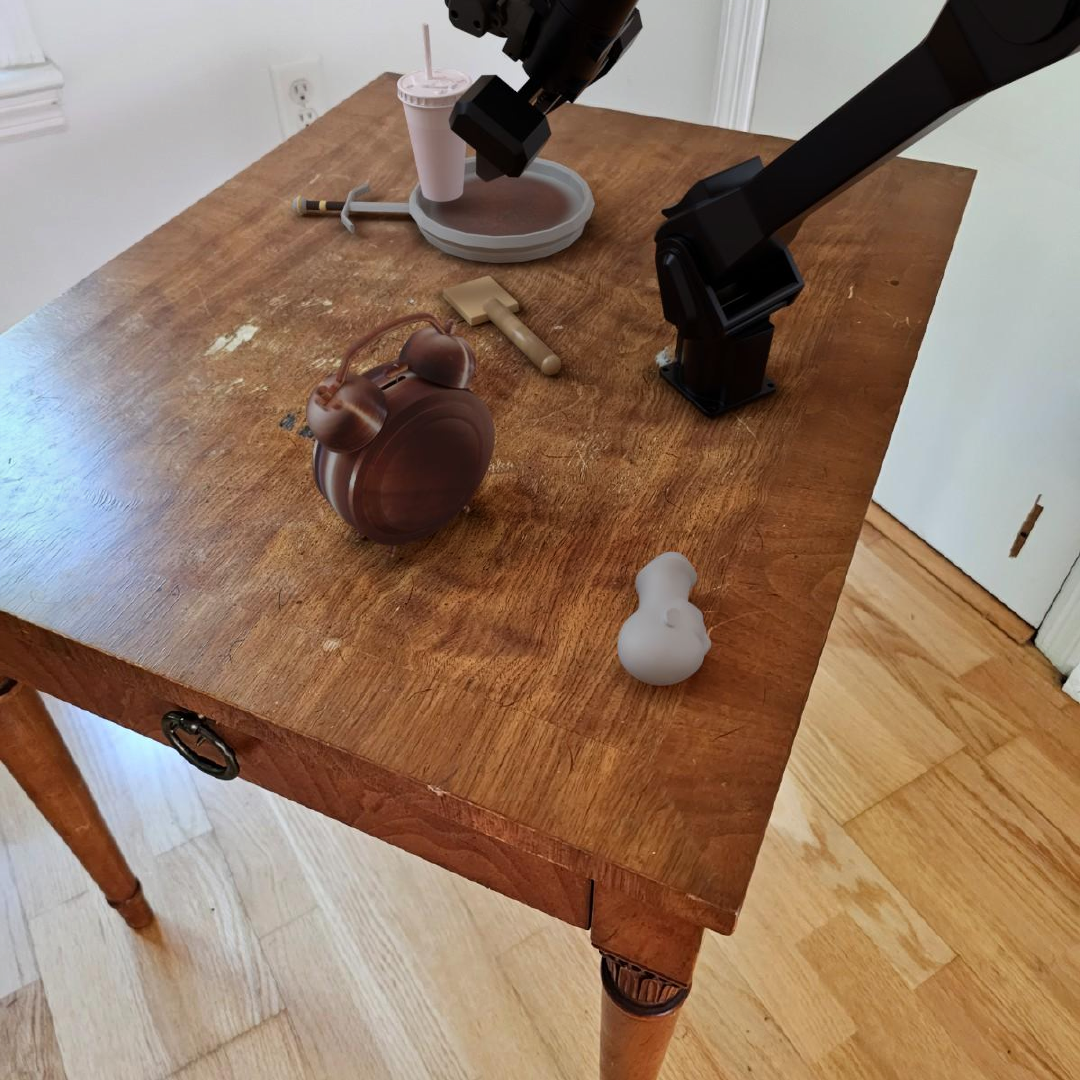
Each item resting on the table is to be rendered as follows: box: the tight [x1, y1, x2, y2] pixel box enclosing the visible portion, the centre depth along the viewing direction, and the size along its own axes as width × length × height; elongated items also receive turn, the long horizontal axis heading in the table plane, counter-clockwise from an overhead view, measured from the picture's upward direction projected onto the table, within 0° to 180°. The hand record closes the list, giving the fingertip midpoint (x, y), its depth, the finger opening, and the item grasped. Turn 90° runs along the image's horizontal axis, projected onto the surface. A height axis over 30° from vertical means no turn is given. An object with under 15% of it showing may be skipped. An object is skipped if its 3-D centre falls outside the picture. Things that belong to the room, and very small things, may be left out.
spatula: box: [442, 275, 562, 376], centre depth 76 cm, size 14×4×2 cm, turn 31°
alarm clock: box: [305, 312, 496, 559], centre depth 56 cm, size 11×5×15 cm, turn 133°
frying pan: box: [292, 155, 596, 264], centre depth 88 cm, size 17×3×28 cm
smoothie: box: [396, 22, 473, 202], centre depth 82 cm, size 6×6×14 cm
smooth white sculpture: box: [616, 551, 712, 687], centre depth 53 cm, size 4×8×5 cm
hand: (511, 143), depth 77 cm, fingers open, 9 cm apart
